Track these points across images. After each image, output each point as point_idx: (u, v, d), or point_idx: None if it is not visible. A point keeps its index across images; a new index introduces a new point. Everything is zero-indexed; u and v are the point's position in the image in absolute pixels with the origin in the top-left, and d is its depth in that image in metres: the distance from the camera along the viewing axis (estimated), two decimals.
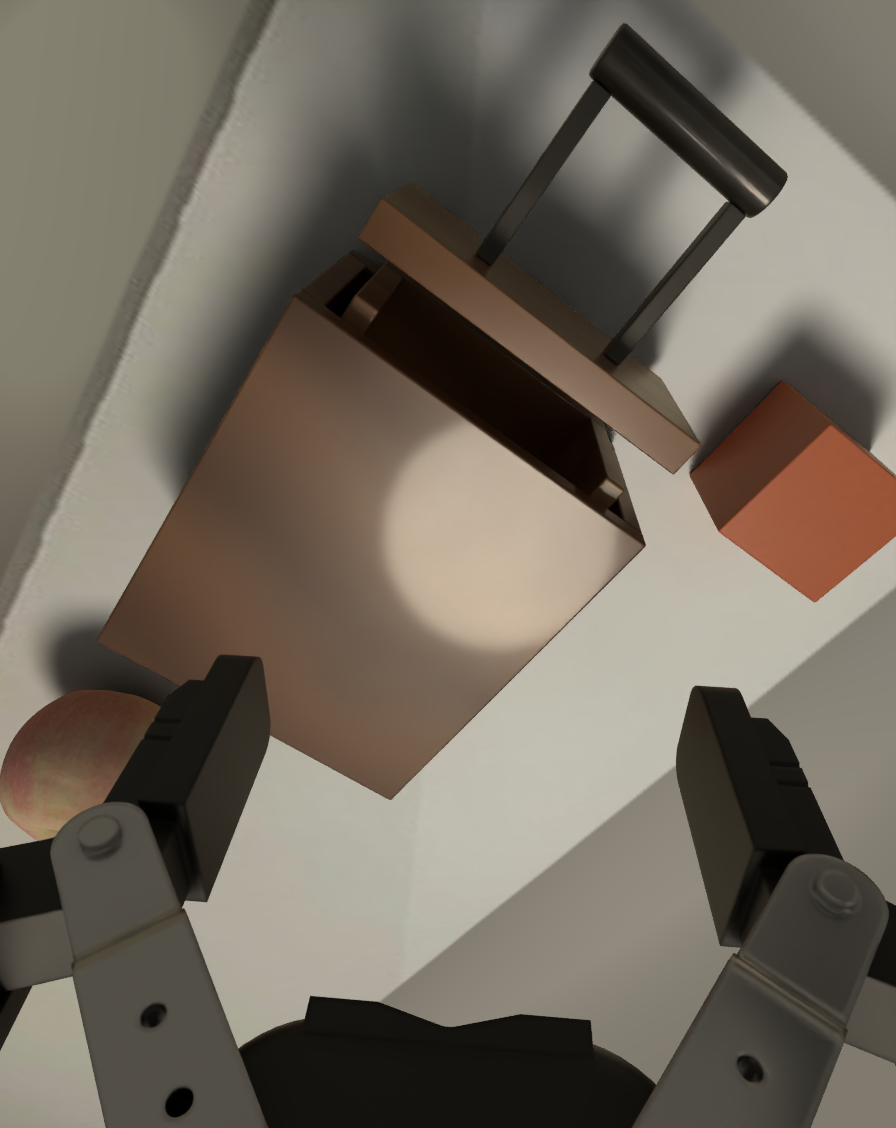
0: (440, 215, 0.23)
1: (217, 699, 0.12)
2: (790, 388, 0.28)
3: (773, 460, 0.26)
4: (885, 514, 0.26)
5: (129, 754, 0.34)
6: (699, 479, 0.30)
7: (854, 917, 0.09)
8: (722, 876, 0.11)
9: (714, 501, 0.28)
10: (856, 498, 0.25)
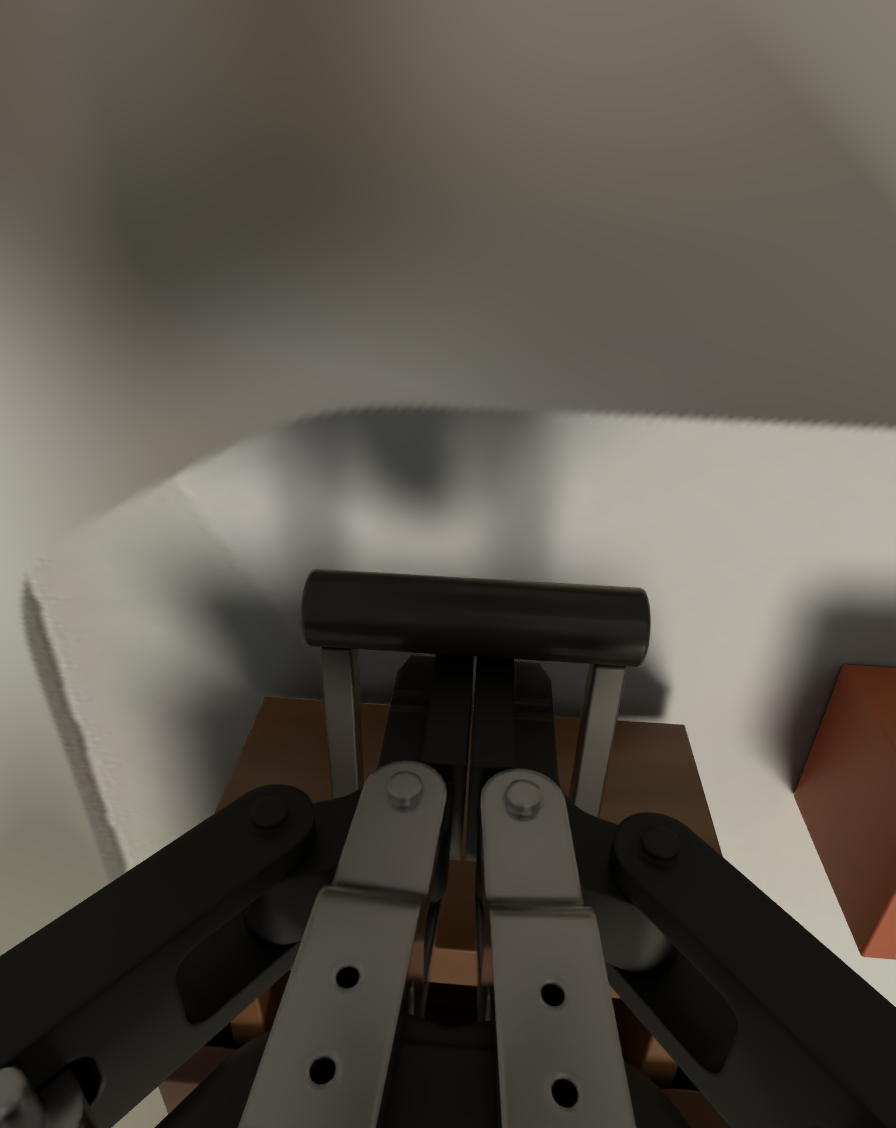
0: (293, 765, 0.18)
1: (455, 672, 0.13)
2: (857, 690, 0.19)
3: (884, 845, 0.17)
4: None
5: None
6: (807, 816, 0.21)
7: (531, 818, 0.10)
8: None
9: (837, 881, 0.19)
10: None
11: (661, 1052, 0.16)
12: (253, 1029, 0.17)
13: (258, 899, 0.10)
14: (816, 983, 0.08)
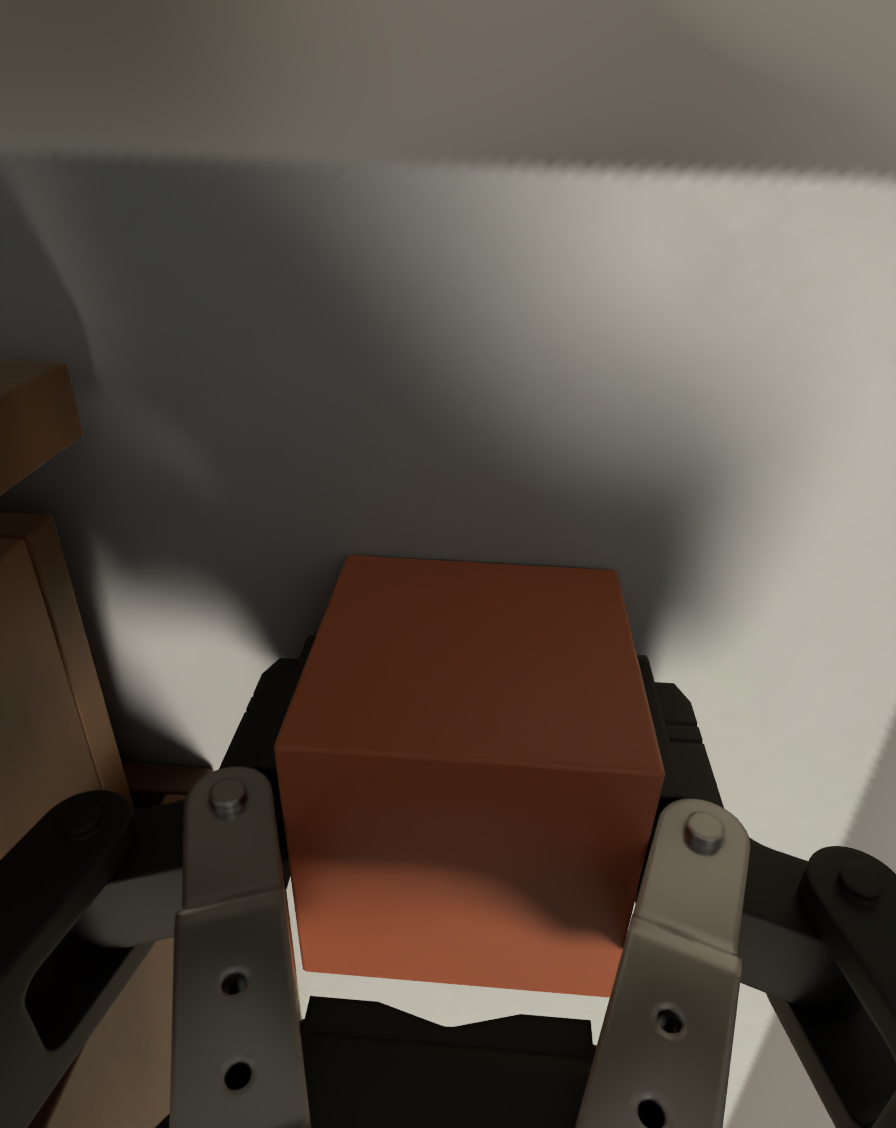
0: None
1: None
2: (336, 585, 0.13)
3: None
4: (576, 828, 0.10)
5: None
6: None
7: (717, 853, 0.10)
8: None
9: None
10: (483, 830, 0.10)
11: None
12: None
13: (90, 907, 0.10)
14: None
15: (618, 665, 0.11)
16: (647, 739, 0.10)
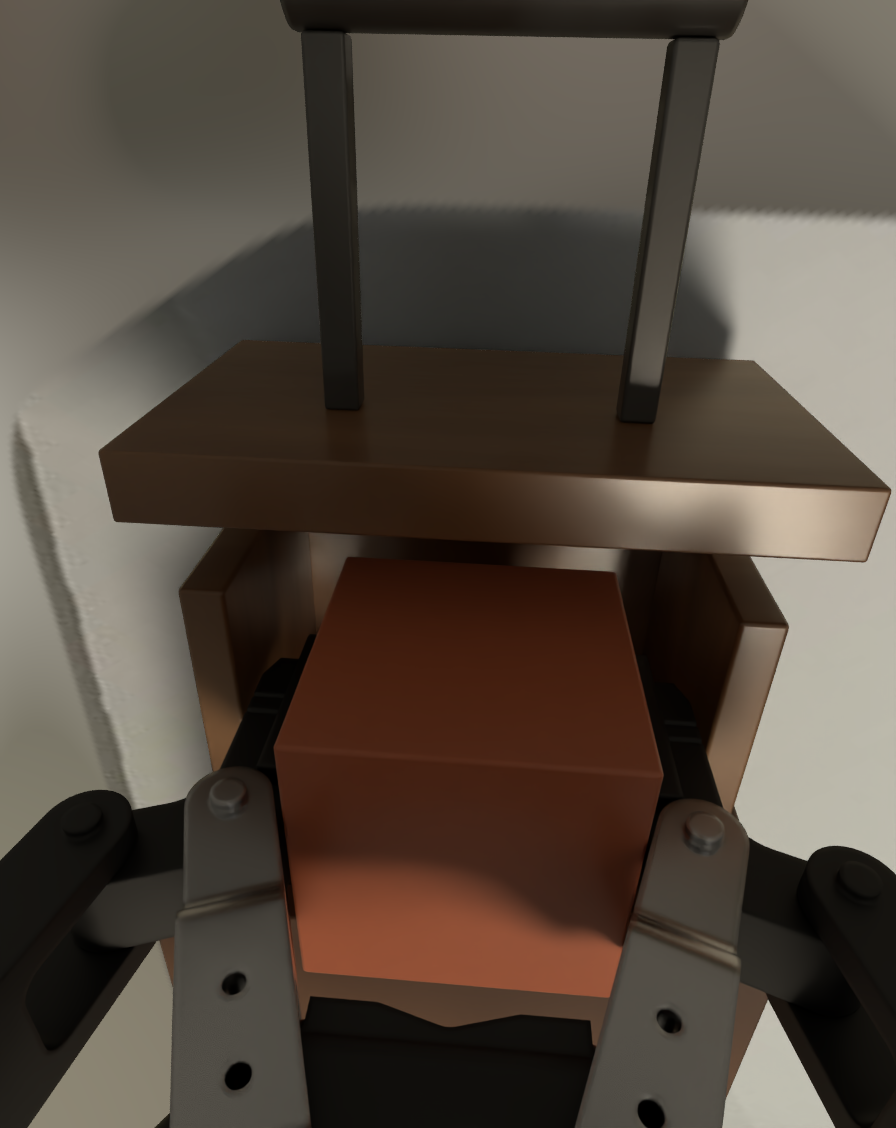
0: (273, 371, 0.15)
1: None
2: (336, 586, 0.13)
3: None
4: (575, 829, 0.10)
5: None
6: None
7: (717, 852, 0.10)
8: None
9: None
10: (482, 831, 0.10)
11: (748, 668, 0.12)
12: (220, 661, 0.13)
13: (91, 907, 0.10)
14: None
15: (617, 666, 0.11)
16: (646, 741, 0.10)
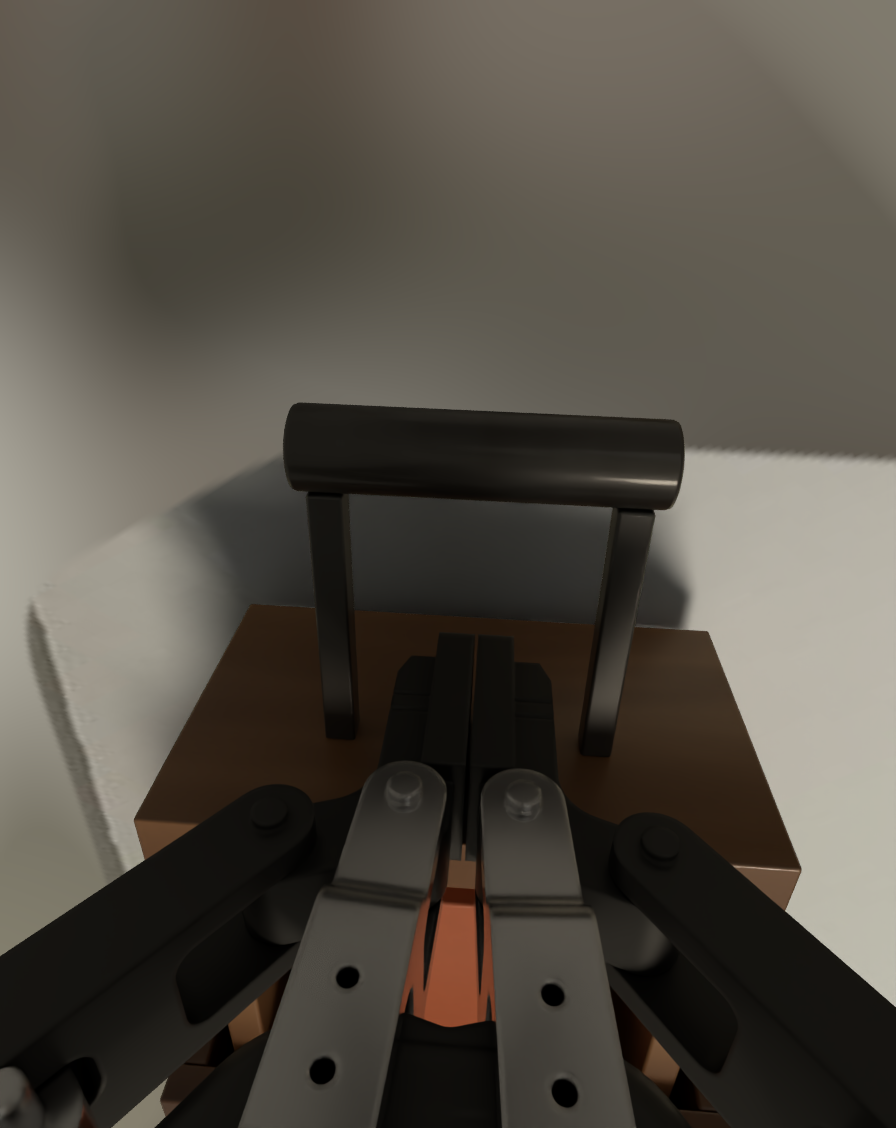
0: (280, 667, 0.16)
1: (455, 672, 0.13)
2: None
3: None
4: None
5: None
6: None
7: (531, 818, 0.10)
8: None
9: None
10: (469, 945, 0.15)
11: None
12: None
13: (258, 899, 0.10)
14: (817, 984, 0.08)
15: None
16: None
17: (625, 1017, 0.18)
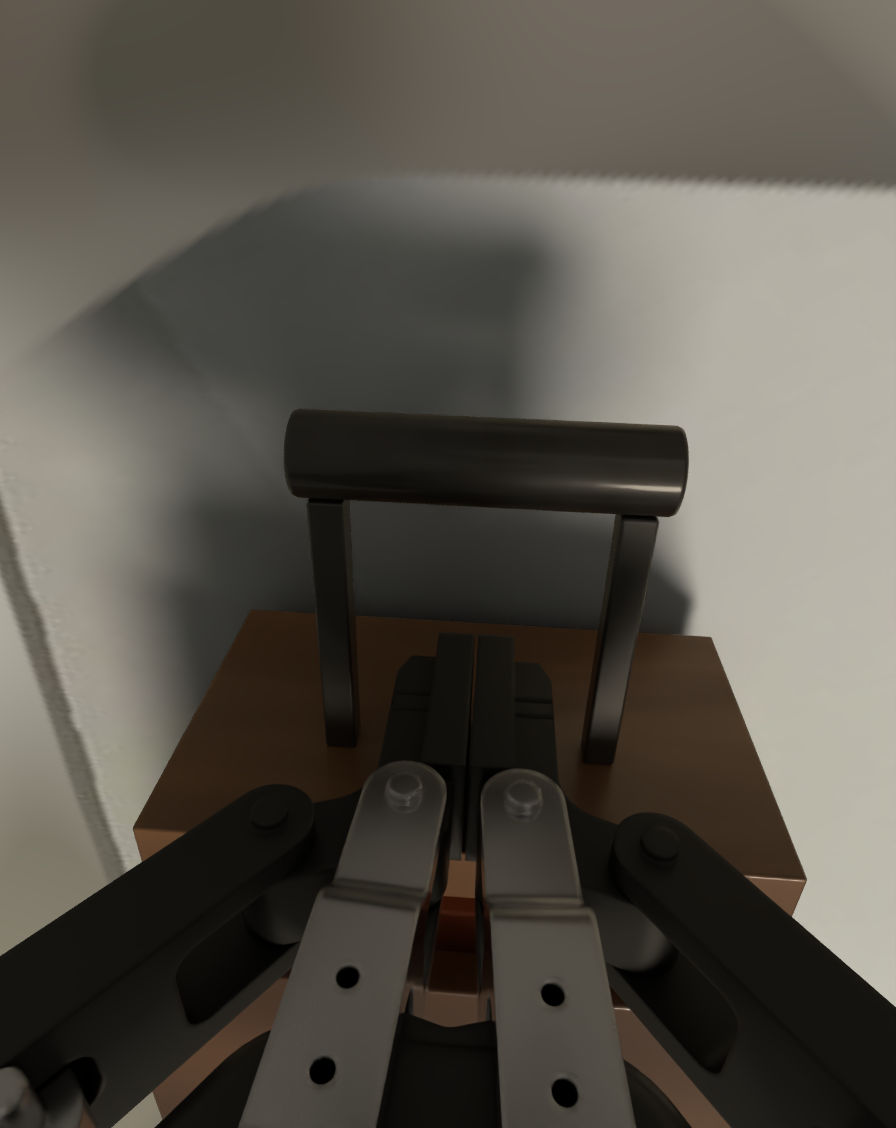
0: (280, 673, 0.16)
1: (455, 672, 0.13)
2: None
3: None
4: None
5: None
6: None
7: (531, 818, 0.10)
8: None
9: None
10: None
11: None
12: None
13: (258, 899, 0.10)
14: (817, 984, 0.08)
15: None
16: None
17: None
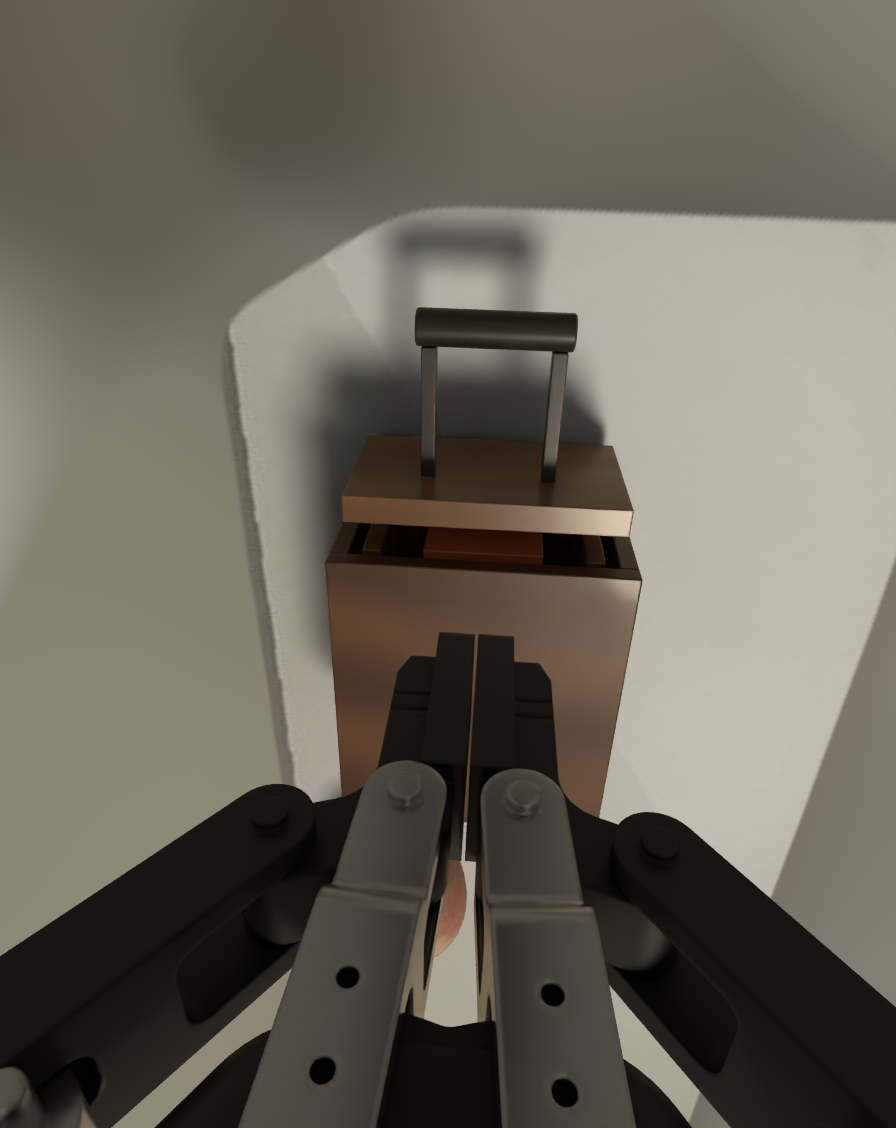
0: (392, 455, 0.33)
1: (455, 672, 0.13)
2: None
3: None
4: None
5: None
6: None
7: (531, 818, 0.10)
8: None
9: None
10: None
11: None
12: None
13: (258, 899, 0.10)
14: (817, 984, 0.08)
15: None
16: (539, 549, 0.31)
17: None
